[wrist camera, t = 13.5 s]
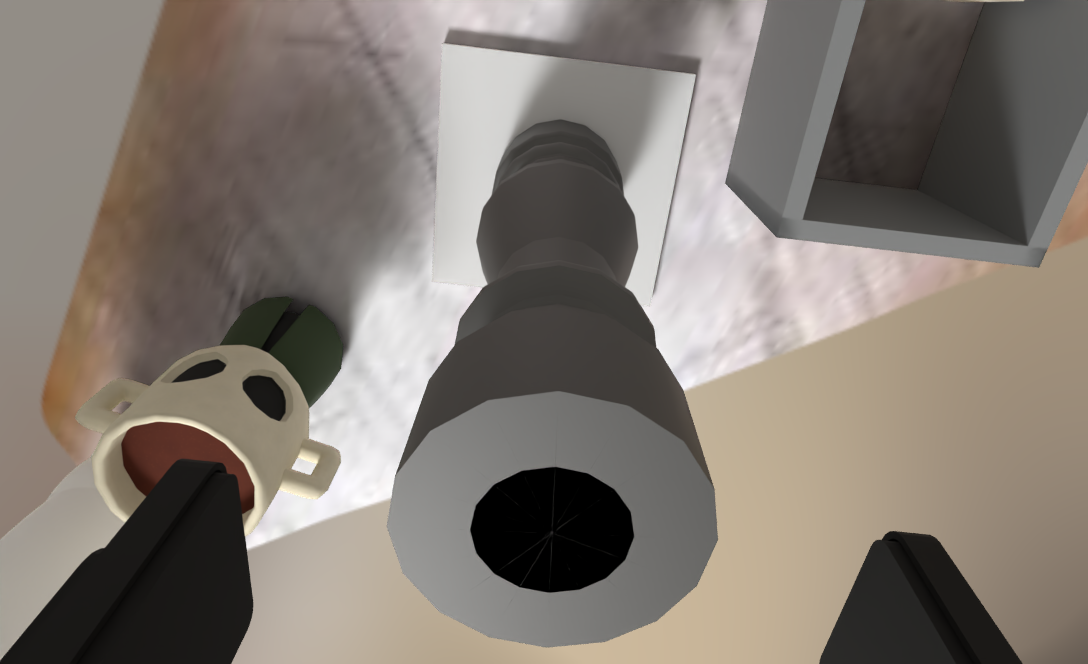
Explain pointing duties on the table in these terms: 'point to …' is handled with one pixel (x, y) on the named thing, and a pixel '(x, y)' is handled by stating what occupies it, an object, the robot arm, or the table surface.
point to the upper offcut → (999, 0)
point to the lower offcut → (965, 0)
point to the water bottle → (50, 549)
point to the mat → (540, 96)
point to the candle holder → (554, 423)
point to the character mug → (224, 413)
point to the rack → (960, 146)
